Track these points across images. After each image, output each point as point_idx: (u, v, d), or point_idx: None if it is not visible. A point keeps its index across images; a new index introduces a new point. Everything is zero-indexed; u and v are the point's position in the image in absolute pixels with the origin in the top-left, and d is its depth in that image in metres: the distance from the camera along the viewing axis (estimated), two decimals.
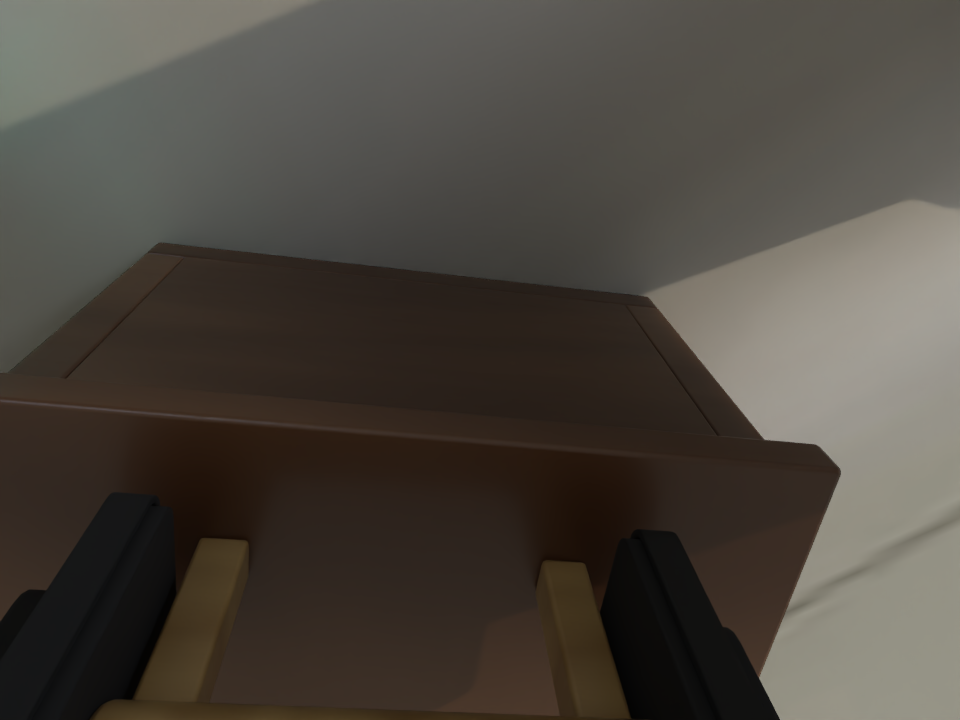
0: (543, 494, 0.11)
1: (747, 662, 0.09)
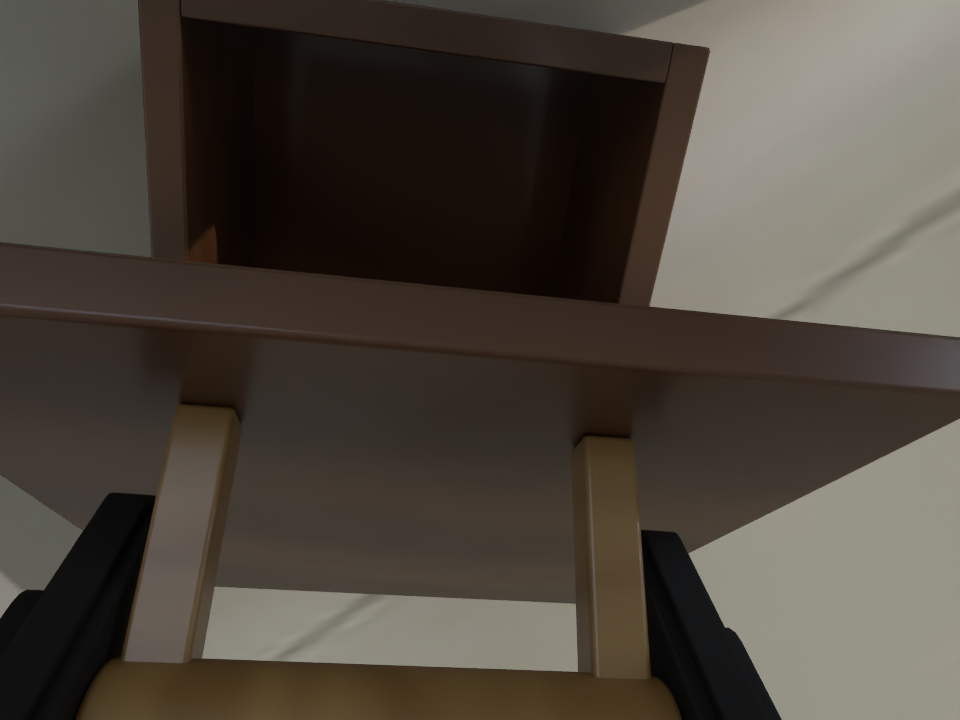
0: (596, 397, 0.08)
1: (749, 663, 0.09)
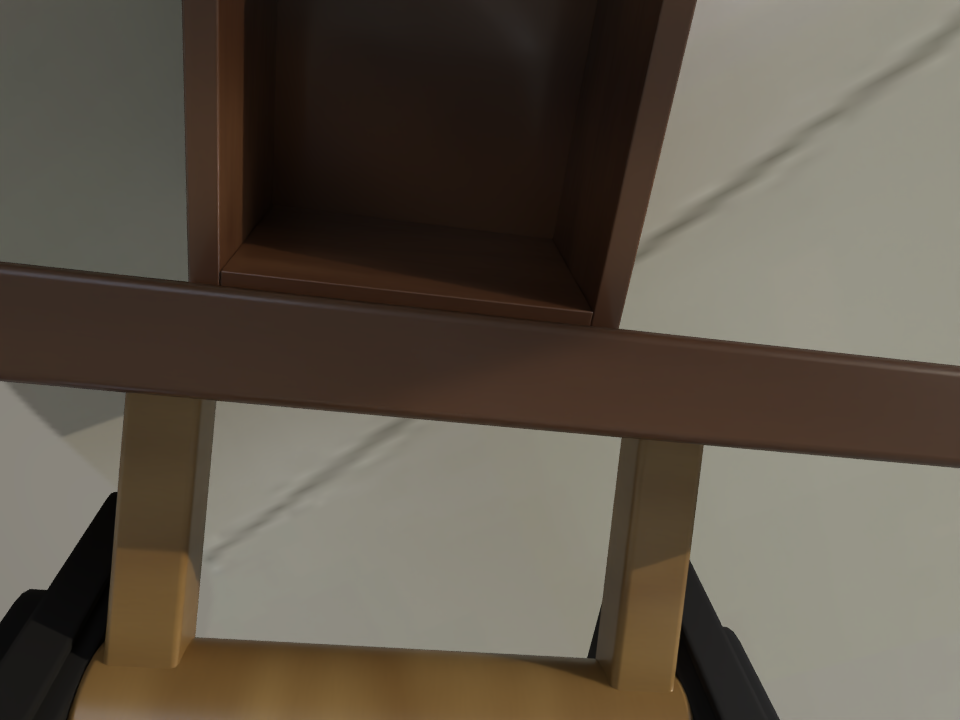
0: None
1: (747, 662, 0.09)
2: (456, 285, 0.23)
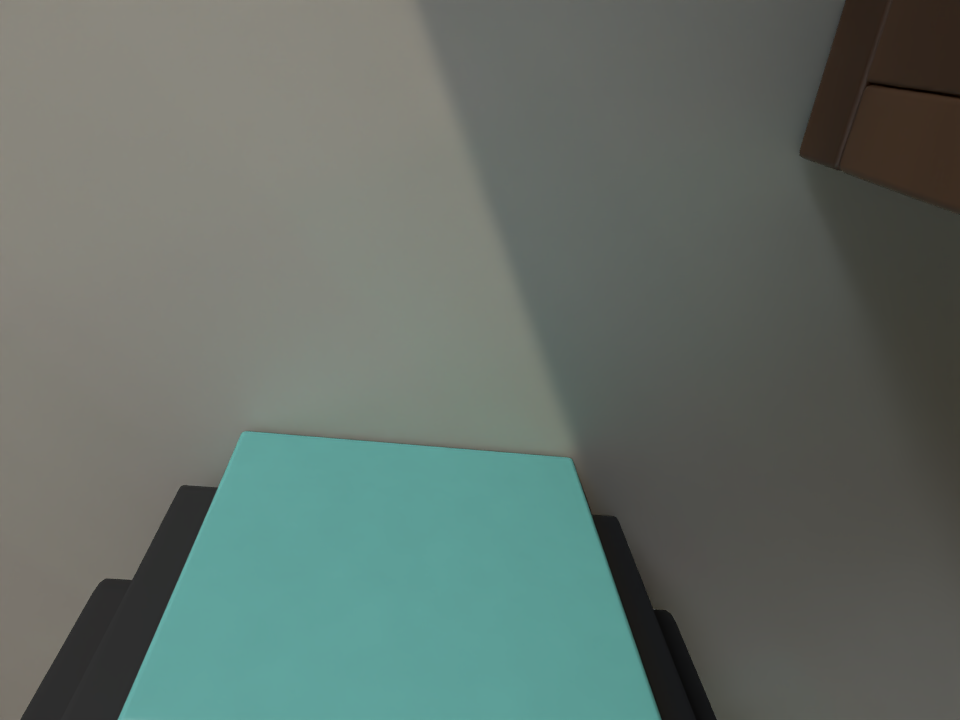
0: None
1: (681, 644, 0.09)
2: None
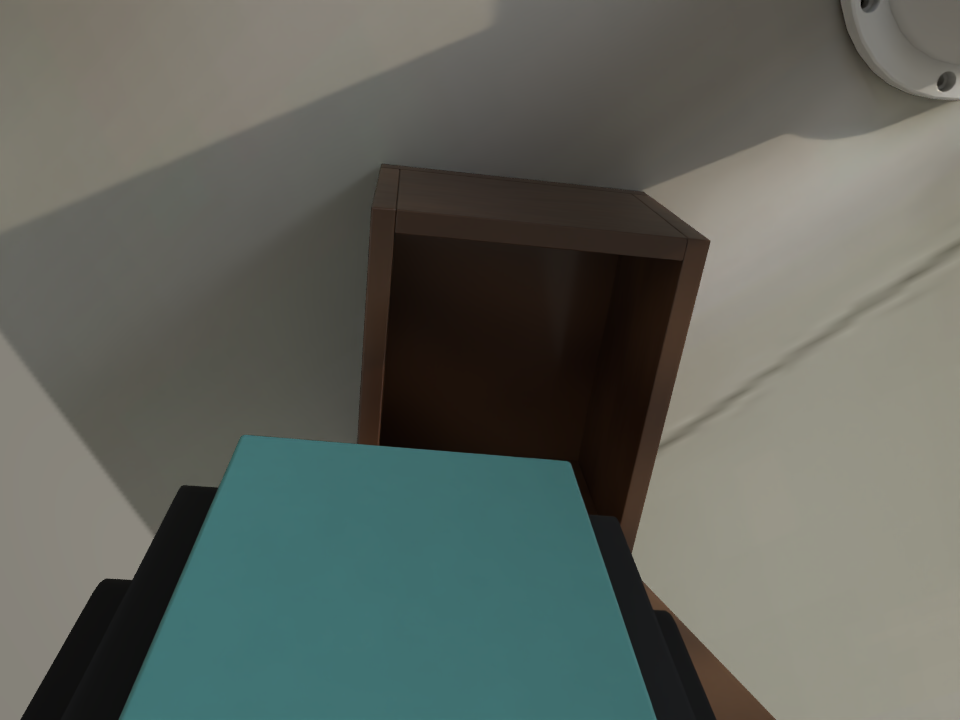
0: None
1: (681, 643, 0.09)
2: None
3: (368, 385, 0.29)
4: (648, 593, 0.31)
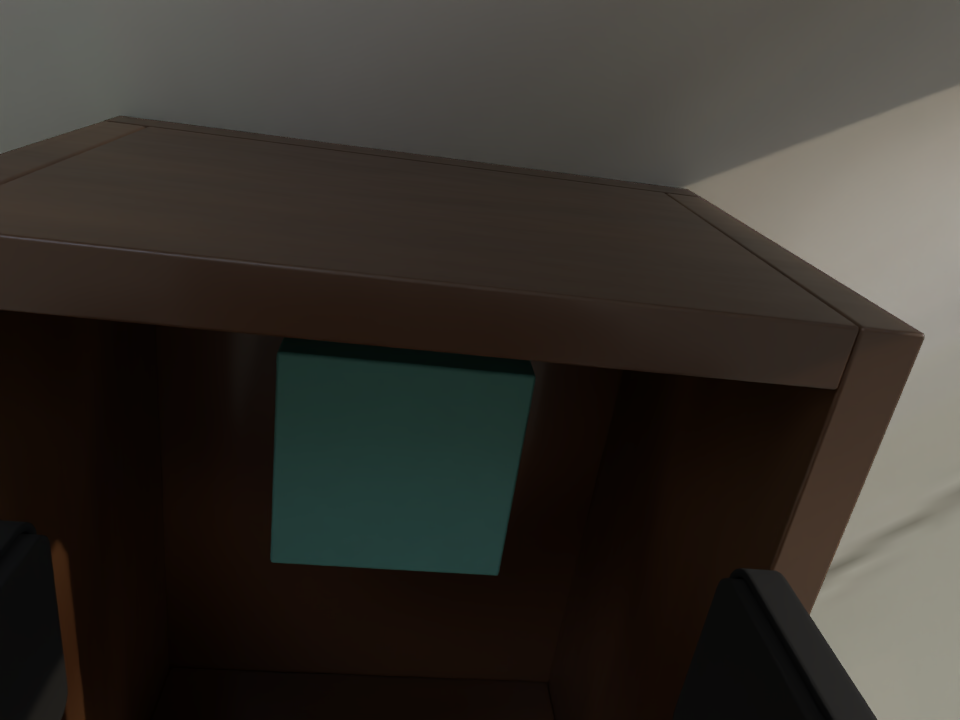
0: None
1: None
2: None
3: None
4: None
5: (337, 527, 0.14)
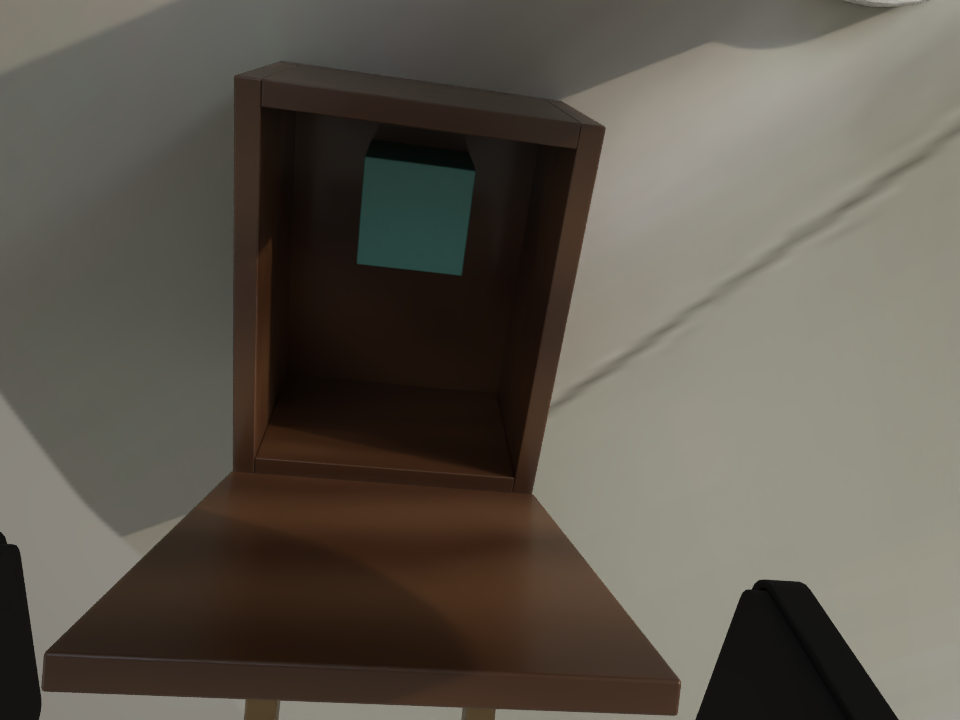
0: None
1: None
2: (419, 457, 0.32)
3: (241, 279, 0.27)
4: (541, 512, 0.29)
5: (387, 245, 0.31)
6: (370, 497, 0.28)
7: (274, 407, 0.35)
